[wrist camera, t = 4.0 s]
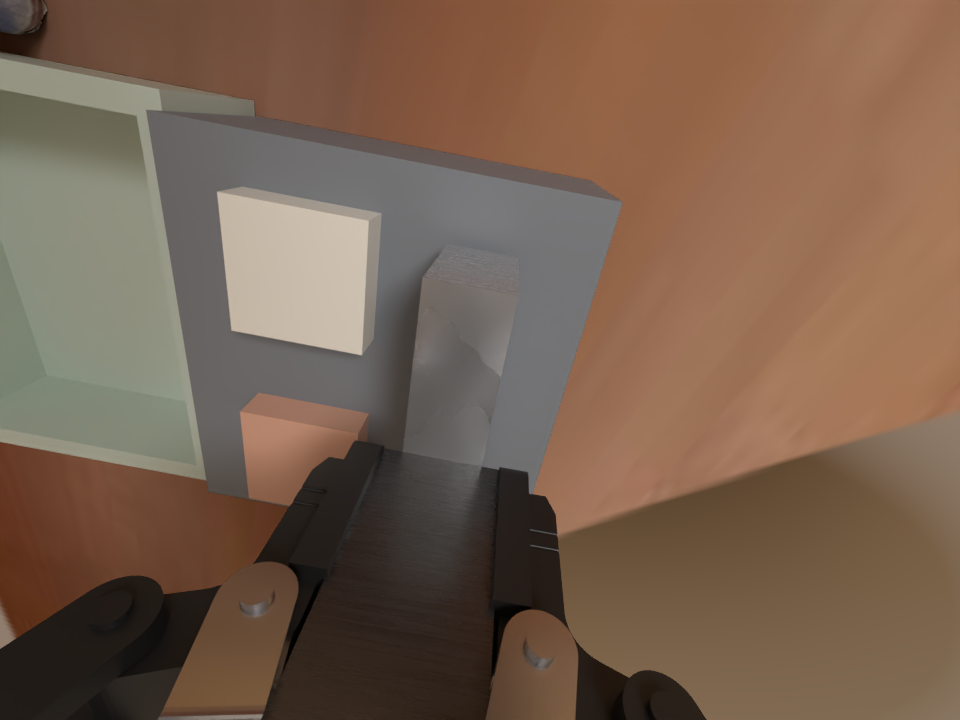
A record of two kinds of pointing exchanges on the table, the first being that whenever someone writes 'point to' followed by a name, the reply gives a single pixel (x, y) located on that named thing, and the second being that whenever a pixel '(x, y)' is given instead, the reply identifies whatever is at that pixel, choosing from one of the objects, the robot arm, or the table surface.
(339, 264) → the tile cream
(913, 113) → the table surface
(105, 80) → the box
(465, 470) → the scraper
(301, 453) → the tile terracotta
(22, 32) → the flask
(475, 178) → the grey slotted block
